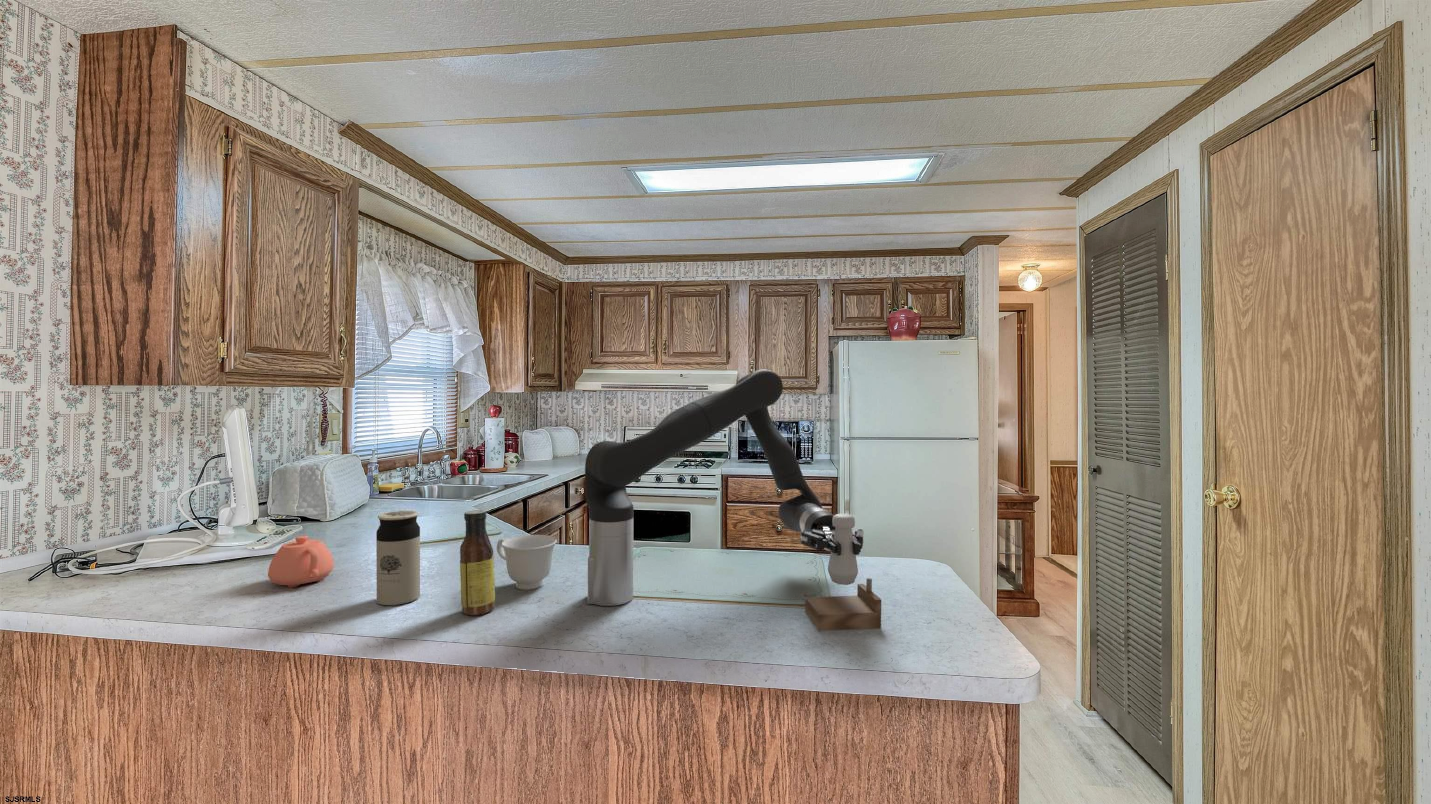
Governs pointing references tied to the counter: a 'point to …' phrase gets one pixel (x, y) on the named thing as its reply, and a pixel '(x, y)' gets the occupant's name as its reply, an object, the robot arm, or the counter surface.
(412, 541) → the travel mug
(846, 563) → the salt shaker
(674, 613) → the counter surface
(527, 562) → the teacup
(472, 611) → the sauce bottle
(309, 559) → the sugar bowl
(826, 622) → the wooden stand
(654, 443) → the robot arm
